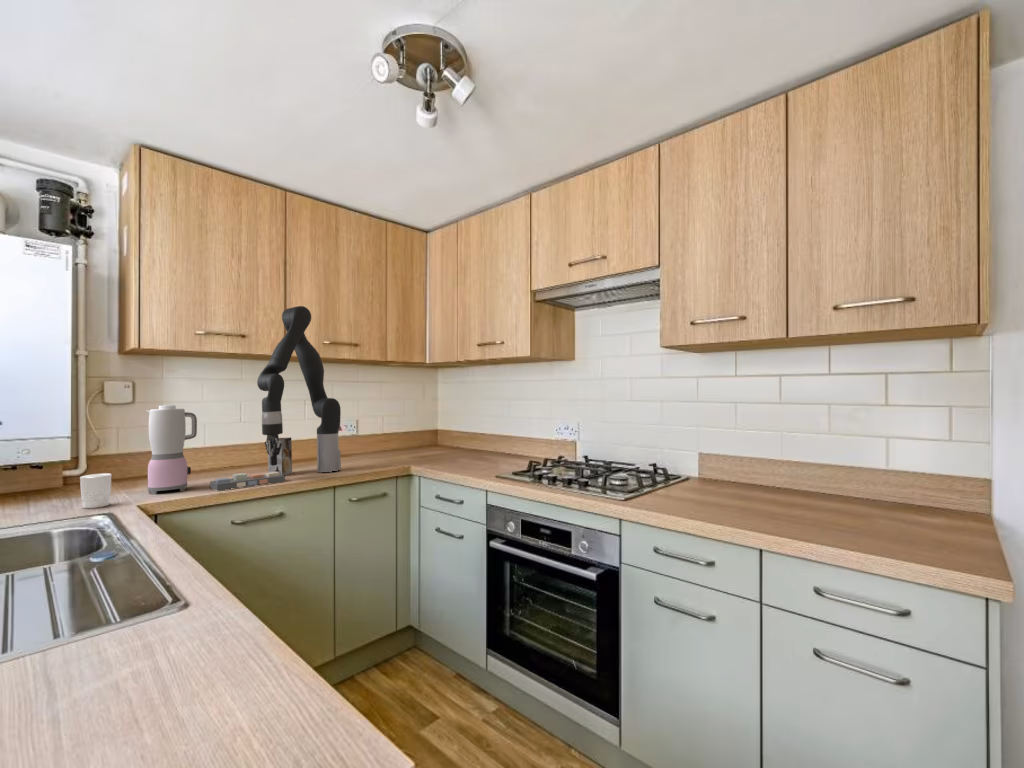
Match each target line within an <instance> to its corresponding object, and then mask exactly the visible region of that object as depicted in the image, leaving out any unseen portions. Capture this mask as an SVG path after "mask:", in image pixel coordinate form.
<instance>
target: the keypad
mask: <svg viewBox="0 0 1024 768" xmlns="http://www.w3.org/2000/svg"><path fill="white" fill-rule="evenodd" d="M263 475H264V477H262V478H254V479H251V478H250V475H249V476H248V475H247V479H246V480H238V481H234V480H233V477H232V478H229V479H230V482H223V483H216V482H215V480H210V482H209V483H210V485H209V486H210V487H211V488H210V487H209V488H210V489H212V488H213V489H212V490H214V489H215V490H214V491H216V490H217V491H216V492H219V491H218V490H222V491H226V490H225V489H229V490H232V489H231V488H236V489H240V488H239V487H244V488H248V487H247V486H251V487H256V486H255V485H258V486H262V485H261V484H265V485H269V484H268V483H273V484H277V483H276V482H280V483H284V482H283V481H285V482H286V480H285V479H286V475H285V476H284V475H281V474H279V475H278V476H270V477H268V476H266V473H265V474H263Z"/></svg>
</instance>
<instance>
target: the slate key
mask: <svg viewBox="0 0 1024 768" xmlns="http://www.w3.org/2000/svg"><path fill="white" fill-rule="evenodd" d="M230 479H231V478H230V477H222V478H221V477H220V478H219V477H218V478H215V480H214V481H215V482H216V483H223V482H230Z"/></svg>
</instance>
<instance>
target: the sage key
mask: <svg viewBox="0 0 1024 768" xmlns="http://www.w3.org/2000/svg"><path fill="white" fill-rule="evenodd" d="M247 477H248V473H245V472H243V473H233V474H232V478H233V480H234V481H238V480H246V479H247Z"/></svg>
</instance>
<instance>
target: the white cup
mask: <svg viewBox="0 0 1024 768" xmlns="http://www.w3.org/2000/svg"><path fill="white" fill-rule="evenodd" d="M79 483H80V496H81V504H82V506H81V507H82V508H83V509H95V508H102V507H105V506H109V505H110V503H111V502H110V500H111V493H112V491H111V490H112V473H108V472H107V473H93V474H86V475H82V476H79Z"/></svg>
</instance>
